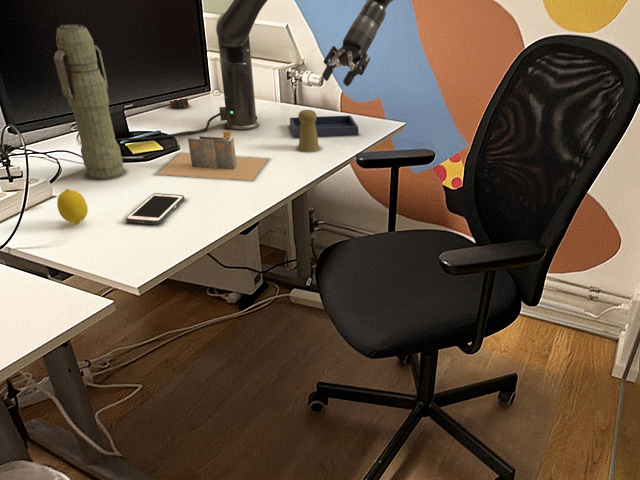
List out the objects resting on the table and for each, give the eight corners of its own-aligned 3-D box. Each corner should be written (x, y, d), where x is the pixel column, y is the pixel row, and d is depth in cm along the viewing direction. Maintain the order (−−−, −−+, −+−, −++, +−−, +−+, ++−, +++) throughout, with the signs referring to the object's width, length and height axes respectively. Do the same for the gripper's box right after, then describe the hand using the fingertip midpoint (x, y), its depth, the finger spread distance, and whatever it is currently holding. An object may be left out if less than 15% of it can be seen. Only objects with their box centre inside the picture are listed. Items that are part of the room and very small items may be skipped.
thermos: (74, 178, 151) (34, 27, 132) (107, 163, 160) (74, 21, 141) (104, 184, 148) (67, 31, 130) (135, 168, 158) (105, 24, 139)
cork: (296, 146, 178) (294, 108, 172) (315, 144, 180) (314, 107, 174) (302, 152, 174) (300, 114, 168) (322, 150, 176) (320, 112, 170)
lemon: (95, 218, 132) (86, 184, 128) (85, 229, 127) (75, 194, 123) (69, 218, 132) (60, 183, 127) (58, 229, 127) (48, 194, 123)
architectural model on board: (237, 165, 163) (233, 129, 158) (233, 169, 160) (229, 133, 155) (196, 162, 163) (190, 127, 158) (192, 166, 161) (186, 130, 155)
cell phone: (124, 222, 131) (124, 218, 130) (154, 196, 143) (153, 192, 142) (159, 225, 130) (158, 221, 130) (185, 198, 143) (185, 195, 142)
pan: (294, 138, 184) (294, 129, 183) (290, 125, 195) (289, 117, 193) (358, 135, 189) (358, 126, 188) (350, 123, 199) (350, 115, 198)
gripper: (337, 23, 178) (310, 69, 176) (373, 29, 170) (346, 77, 169) (349, 40, 184) (324, 85, 183) (384, 47, 177) (358, 93, 175)
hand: (334, 81), depth 176 cm, fingers open, 8 cm apart
